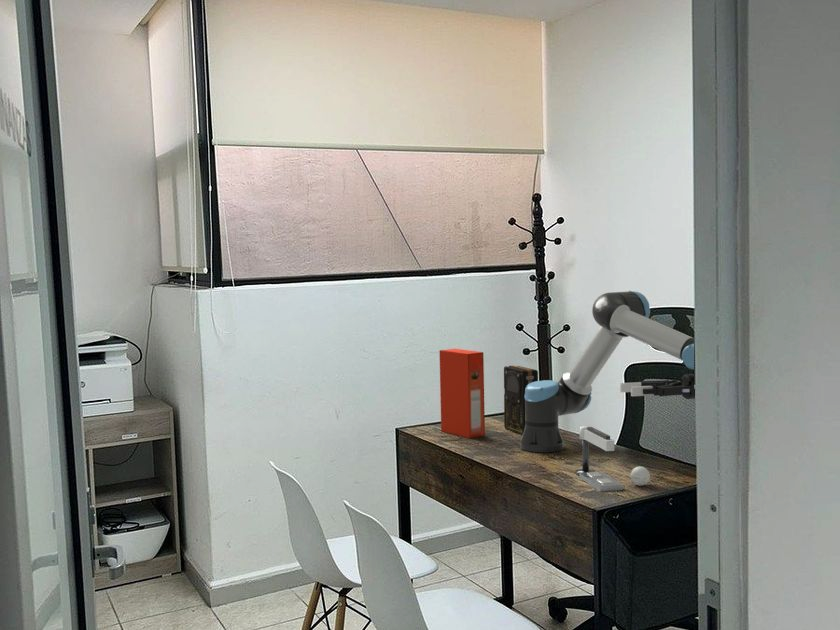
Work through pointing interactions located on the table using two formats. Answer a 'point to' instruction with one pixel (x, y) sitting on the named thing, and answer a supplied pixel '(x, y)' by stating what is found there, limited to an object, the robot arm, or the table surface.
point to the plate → (600, 481)
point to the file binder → (462, 392)
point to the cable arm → (597, 438)
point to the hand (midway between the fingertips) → (626, 389)
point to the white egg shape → (640, 476)
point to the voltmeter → (516, 396)
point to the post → (585, 458)
